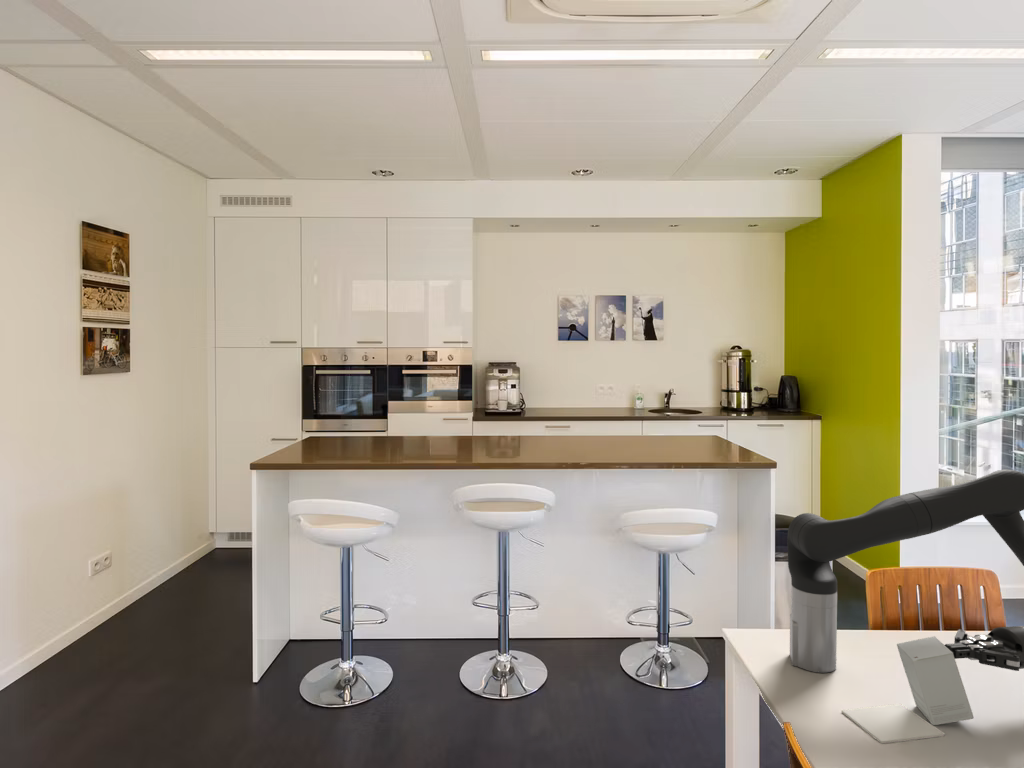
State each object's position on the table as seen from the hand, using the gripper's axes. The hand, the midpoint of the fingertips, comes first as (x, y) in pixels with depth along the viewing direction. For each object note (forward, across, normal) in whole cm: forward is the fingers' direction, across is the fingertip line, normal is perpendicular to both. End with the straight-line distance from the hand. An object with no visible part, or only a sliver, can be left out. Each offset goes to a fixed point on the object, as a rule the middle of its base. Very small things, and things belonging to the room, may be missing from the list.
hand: (947, 651), depth 116 cm
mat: (+12, +1, +13) cm, 18 cm away
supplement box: (+1, 0, +12) cm, 12 cm away
